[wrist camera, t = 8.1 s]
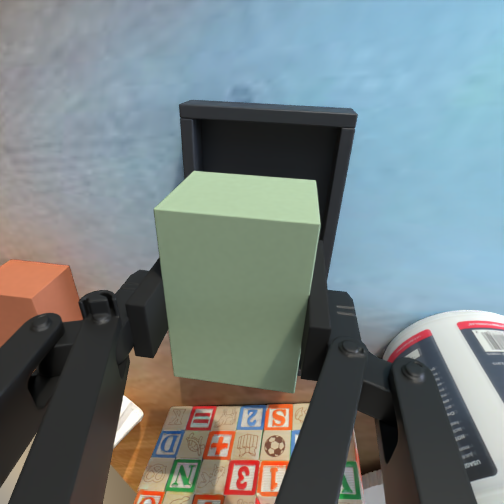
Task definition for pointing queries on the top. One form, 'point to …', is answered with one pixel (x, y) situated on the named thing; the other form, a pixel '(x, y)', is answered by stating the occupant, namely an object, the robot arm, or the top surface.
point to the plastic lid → (373, 488)
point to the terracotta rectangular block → (35, 294)
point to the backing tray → (274, 148)
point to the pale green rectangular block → (238, 276)
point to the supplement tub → (466, 387)
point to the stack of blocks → (231, 456)
